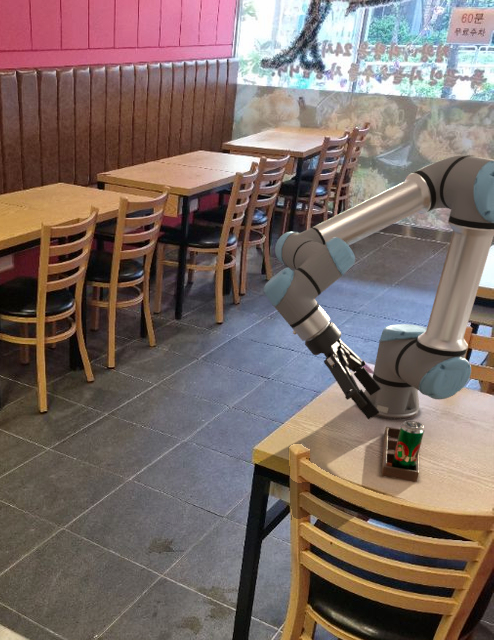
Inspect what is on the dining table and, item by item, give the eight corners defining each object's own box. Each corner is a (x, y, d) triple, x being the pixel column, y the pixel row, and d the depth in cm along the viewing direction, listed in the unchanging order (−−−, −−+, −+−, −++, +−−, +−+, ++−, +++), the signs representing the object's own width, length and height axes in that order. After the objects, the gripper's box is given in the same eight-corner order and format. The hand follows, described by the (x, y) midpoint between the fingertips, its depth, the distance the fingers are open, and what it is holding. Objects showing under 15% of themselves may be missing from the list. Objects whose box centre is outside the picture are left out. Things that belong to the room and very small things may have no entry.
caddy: (383, 435, 189) (385, 426, 188) (415, 440, 187) (417, 431, 186) (381, 476, 171) (383, 466, 170) (416, 481, 169) (419, 472, 168)
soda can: (410, 466, 175) (421, 420, 169) (415, 476, 171) (427, 430, 164) (388, 464, 175) (399, 419, 169) (393, 475, 171) (404, 429, 165)
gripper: (309, 324, 176) (362, 391, 180) (297, 361, 156) (357, 435, 160) (335, 304, 172) (390, 373, 176) (326, 340, 152) (388, 417, 156)
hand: (374, 403), depth 168 cm, fingers open, 13 cm apart
